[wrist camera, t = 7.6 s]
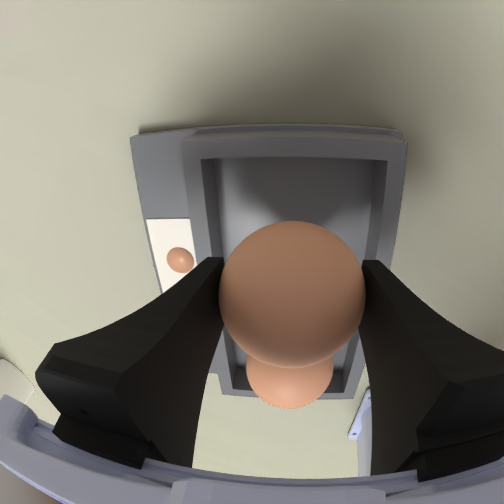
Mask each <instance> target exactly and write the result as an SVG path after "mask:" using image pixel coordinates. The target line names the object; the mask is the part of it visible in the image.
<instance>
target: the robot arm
mask: <svg viewBox="0 0 504 504" xmlns="http://www.w3.org/2000/svg"><path fill="white" fill-rule="evenodd" d="M224 266H225V264H224V257H207V258H205V259H204V260H203V261H202V262H200V263H199V264H198V265H197V266H196V267H195V268H194V269H192V270H191V271H190V272H189V273H188V274H186V275H185V276H184V277H183V278H182V279H180V280H179V281H178V282H177V283H176V284H174V285H173V286H172V287H170V288H169V289H168V290H166V291H165V292H164V293H162V294H161V295H160V296H159V297H157V298H156V299H154V300H153V301H151V302H150V303H148V304H147V305H145V306H144V307H142V308H140V309H139V310H137V311H135V312H134V313H132V314H130V315H128V316H126V317H124V318H122V319H120V320H118V321H116V322H114V323H112V324H110V325H108V326H105V327H103V328H101V329H98V330H96V331H93V332H91V333H88V334H85V335H82V336H79V337H76V338H73V339H69V340H66V341H63V342H59V343H55V344H54V345H53V347H52V348H51V350H50V351H49V352H48V354H47V355H46V357H45V358H44V360H43V361H42V363H41V364H40V366H39V367H38V369H37V370H36V372H35V378H36V381H37V383H38V385H39V387H40V388H41V390H42V391H43V393H44V394H45V395H46V396H47V398H48V399H49V400H50V401H51V403H52V404H53V405H54V406H55V407H56V409H57V410H58V411H59V412H60V413H61V415H60V417H59V419H58V421H57V423H56V424H55V426H54V425H52V424H49V423H47V422H45V421H43V420H41V419H39V418H38V417H37V415H36V414H35V413H34V412H33V411H32V410H31V409H30V408H29V407H28V406H27V405H25V404H24V403H22V402H20V401H18V400H17V399H15V398H13V397H11V396H9V395H7V394H4V395H3V397H2V399H1V400H0V463H1V464H2V465H3V466H5V467H6V468H7V469H8V470H10V471H11V472H13V473H14V474H15V475H17V476H18V477H20V478H21V479H23V480H24V481H26V482H28V483H29V484H31V485H32V486H34V487H36V488H37V489H39V490H41V491H43V492H44V493H46V494H47V495H49V496H51V497H53V498H54V499H56V500H58V501H60V502H62V503H64V504H504V351H502V350H500V349H497V348H495V347H493V346H491V345H489V344H487V343H485V342H483V341H481V340H479V339H477V338H475V337H473V336H471V335H470V334H468V333H466V332H465V331H463V330H461V329H460V328H458V327H457V326H455V325H453V324H452V323H450V322H449V321H447V320H446V319H445V318H443V317H442V316H441V315H439V314H438V313H437V312H435V311H434V310H433V309H431V308H430V307H429V306H428V305H427V304H425V303H424V302H423V301H422V300H421V299H420V298H418V297H417V296H416V295H415V294H414V293H413V292H412V291H411V290H410V289H408V288H407V287H406V286H405V285H404V284H403V283H402V282H401V281H400V280H399V279H398V278H397V277H396V276H395V275H394V274H393V273H392V272H391V271H390V270H389V269H388V268H387V267H386V266H385V265H384V264H383V263H382V262H380V261H379V260H363V261H362V267H361V269H362V272H363V276H364V280H365V286H366V301H365V308H364V312H363V316H362V319H361V322H360V324H359V326H358V330H359V335H360V339H361V344H362V348H363V353H364V357H365V362H366V367H367V371H368V377H369V383H370V389H368V390H367V391H366V393H365V395H364V398H363V401H362V403H361V405H360V408H359V410H358V413H357V415H356V417H355V420H354V422H353V424H352V426H351V429H350V431H349V433H348V435H347V436H348V439H349V440H355V439H357V453H358V476H359V477H351V478H333V479H285V478H266V477H253V476H243V475H234V474H226V473H218V472H212V471H205V470H199V469H194V468H192V463H193V455H194V446H195V440H196V433H197V427H198V420H199V415H200V409H201V404H202V399H203V394H204V389H205V384H206V379H207V376H208V372H209V369H210V366H211V363H212V360H213V357H214V354H215V351H216V348H217V345H218V342H219V339H220V336H221V333H222V330H223V327H224V322H223V319H222V316H221V312H220V307H219V298H218V295H219V283H220V278H221V275H222V271H223V268H224Z"/></svg>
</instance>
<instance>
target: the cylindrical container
mask: <svg viewBox="0 0 504 504" xmlns="http://www.w3.org/2000/svg"><path fill="white" fill-rule="evenodd" d="M33 391H34V386H33V385H32V383H31V382H30V381H29V379H28V378H27V377H26V376H25V375H24V374H23V373H22V372H21V371H20V370H19V369H18V368H16V367H15V366H14V365H13V364H11V363H10V362H8V361H7V360H4V359H1V360H0V400H1V399H2V397H3V395H4V394H7V395H9V396H11V397H13V398H15V399H17V400H18V401H20V402H22V403H24V404H25V405H26V403H27V401H28V400H29V398H30V396H31V395H32V393H33Z"/></svg>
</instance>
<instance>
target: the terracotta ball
mask: <svg viewBox="0 0 504 504" xmlns="http://www.w3.org/2000/svg"><path fill="white" fill-rule="evenodd" d="M218 298H219V307H220V312H221V316H222V319H223V322H224V324H225V326H226V329H227V331H228V332H229V334H230V336H231V337H232V338H233V340H234V341H235V342H236V343H237V345H238V346H239V347H240V348H241V349H242V350H244V351H245V352H246V353H247V354H249V355H250V356H251V357H253V358H255V359H256V360H259V361H261V362H263V363H266V364H268V365H271V366H275V367H280V368H303V367H308V366H311V365H315V364H318V363H320V362H323V361H325V360H327V359H328V358H330V357H332V356H333V355H335V354H336V353H337V352H339V351H340V350H341V349H342V348H343V347H344V346H345V345H346V344H347V343H348V342H349V340H350V339H351V338H352V336H353V335H354V334H355V332H356V330H357V328H358V326H359V324H360V322H361V319H362V316H363V312H364V308H365V301H366V286H365V280H364V276H363V272H362V269H361V267H360V264H359V262H358V260H357V258H356V256H355V255H354V253H353V252H352V251H351V249H350V248H349V247H348V246H347V244H346V243H345V242H344V241H343V240H342V239H340V238H339V237H338V236H337V235H335V234H334V233H332V232H331V231H329V230H327V229H325V228H323V227H321V226H318V225H315V224H312V223H308V222H302V221H284V222H278V223H274V224H270V225H267V226H265V227H263V228H260V229H258V230H257V231H255V232H253V233H252V234H250V235H249V236H247V237H246V238H245V239H244V240H243V241H242V242H241V243H240V244H239V245H238V246H237V247H236V248H235V249H234V250H233V252H232V253H231V255H230V256H229V258H228V260H227V262H226V264H225V266H224V268H223V271H222V275H221V278H220V283H219V295H218Z"/></svg>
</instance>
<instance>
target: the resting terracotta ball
mask: <svg viewBox="0 0 504 504" xmlns="http://www.w3.org/2000/svg"><path fill="white" fill-rule="evenodd" d="M333 367H334V363H333V356H332V357H330V358H328V359H327V360H325V361H323V362H320V363H318V364H315V365H311V366H308V367H303V368H280V367H275V366H271V365H268V364H266V363H263V362H261V361H259V360H256V359H255V358H253V357H251V356H250V355H249V354H248V357H247V362H246V373H247V378H248V381H249V383H250V385H251V388H252V389H253V391H254V392H255V393H256V394H257V395H258V396H259V397H260V398H261V399H262V400H263V401H265V402H266V403H268V404H270V405H272V406H275V407H279V408H284V409H293V408H299V407H303V406H306V405H308V404H310V403H312V402H313V401H315V400H316V399H317V398H319V397H320V396H321V395H322V394H323V392H324V391H325V390H326V389H327V387H328V385H329V383H330V381H331V378H332V375H333Z"/></svg>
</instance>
